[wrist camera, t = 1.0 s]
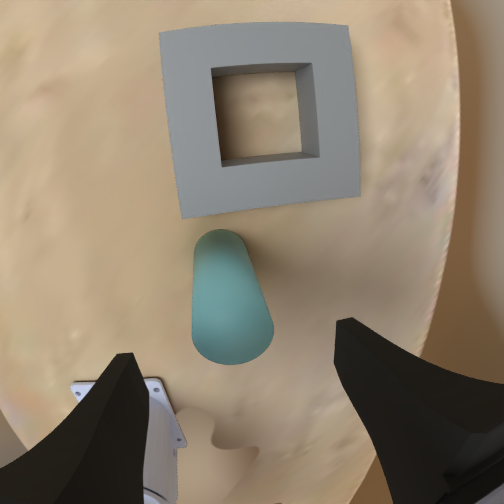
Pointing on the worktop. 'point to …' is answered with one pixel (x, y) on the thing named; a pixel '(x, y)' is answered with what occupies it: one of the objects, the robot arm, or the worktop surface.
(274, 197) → the socket block
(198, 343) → the peg
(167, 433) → the robot arm
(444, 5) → the worktop surface
